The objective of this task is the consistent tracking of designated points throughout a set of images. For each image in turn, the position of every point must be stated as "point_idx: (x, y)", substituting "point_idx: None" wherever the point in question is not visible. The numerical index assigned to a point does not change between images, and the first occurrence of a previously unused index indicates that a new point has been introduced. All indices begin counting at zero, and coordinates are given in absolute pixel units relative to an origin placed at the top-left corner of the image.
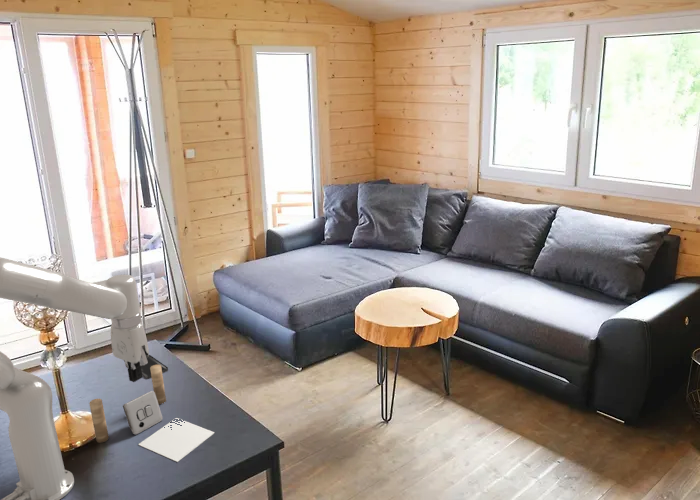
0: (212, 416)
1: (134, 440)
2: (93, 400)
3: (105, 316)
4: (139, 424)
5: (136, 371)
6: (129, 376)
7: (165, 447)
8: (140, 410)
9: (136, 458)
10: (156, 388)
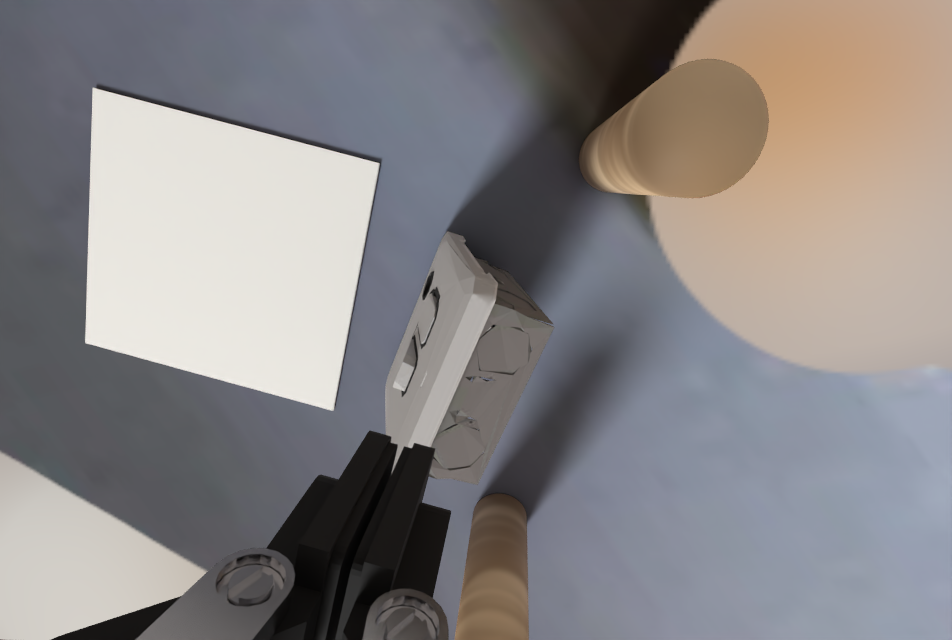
0: (181, 452)
1: (426, 193)
2: (741, 147)
3: None
4: (432, 277)
5: (272, 548)
6: (410, 478)
7: (225, 176)
8: (427, 332)
9: (314, 54)
10: (487, 563)
